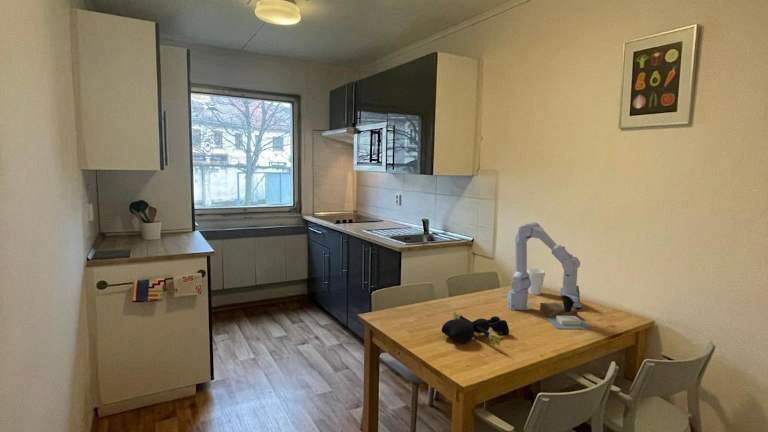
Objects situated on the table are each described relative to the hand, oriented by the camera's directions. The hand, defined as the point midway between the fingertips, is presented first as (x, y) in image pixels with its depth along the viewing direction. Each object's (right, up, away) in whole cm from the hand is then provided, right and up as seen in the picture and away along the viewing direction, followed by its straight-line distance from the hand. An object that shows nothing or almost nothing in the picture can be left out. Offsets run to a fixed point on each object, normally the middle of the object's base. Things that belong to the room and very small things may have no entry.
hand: (567, 311), depth 200 cm
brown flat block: (0, -4, +10) cm, 11 cm away
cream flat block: (0, -3, -1) cm, 3 cm away
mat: (0, -5, -2) cm, 5 cm away
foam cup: (0, +1, +44) cm, 44 cm away
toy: (-47, -7, -18) cm, 51 cm away
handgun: (+12, -2, +26) cm, 29 cm away
